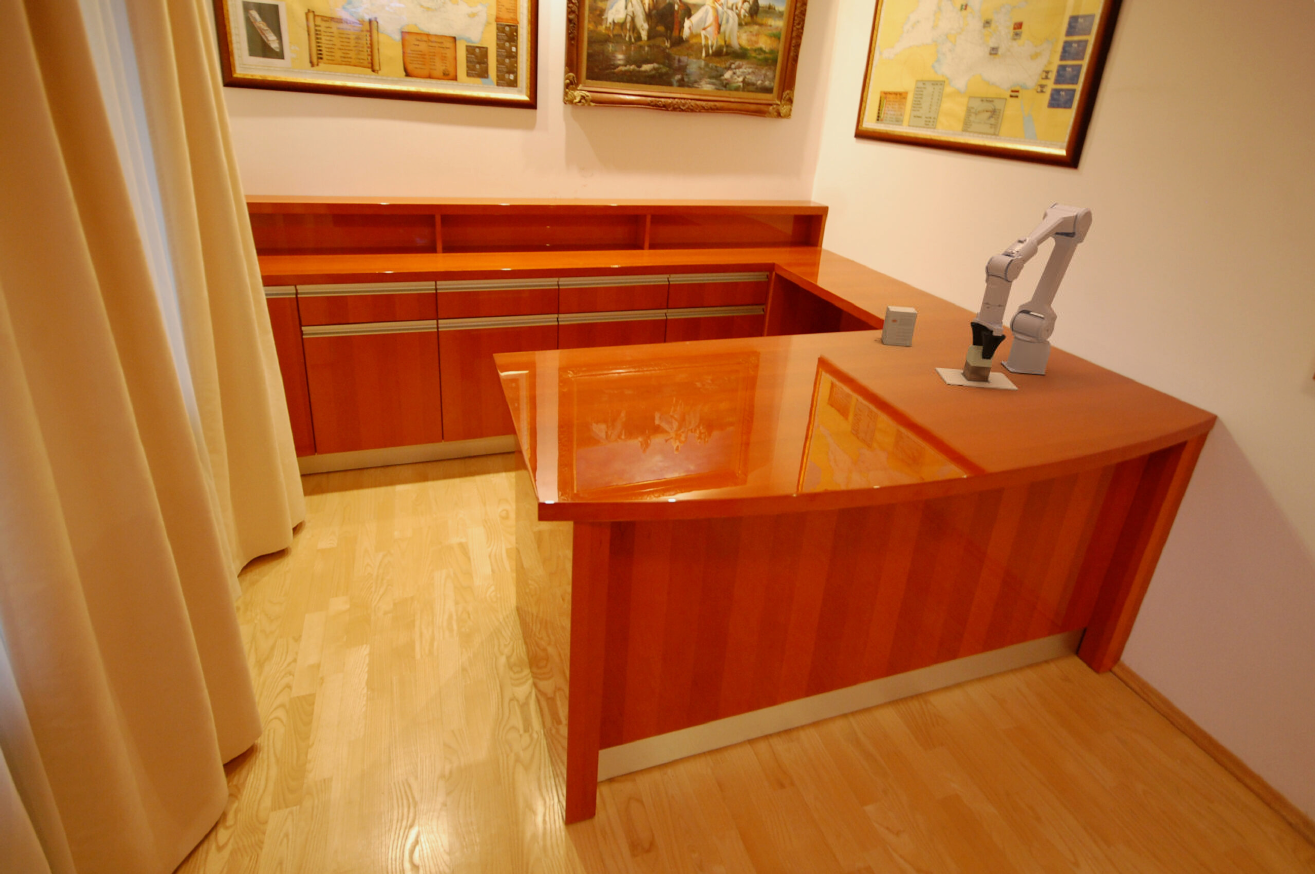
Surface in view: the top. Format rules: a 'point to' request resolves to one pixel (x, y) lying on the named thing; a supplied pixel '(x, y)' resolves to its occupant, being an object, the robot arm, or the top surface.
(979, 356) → the sage block
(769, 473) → the top surface
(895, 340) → the small box
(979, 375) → the walnut block
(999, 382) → the board
